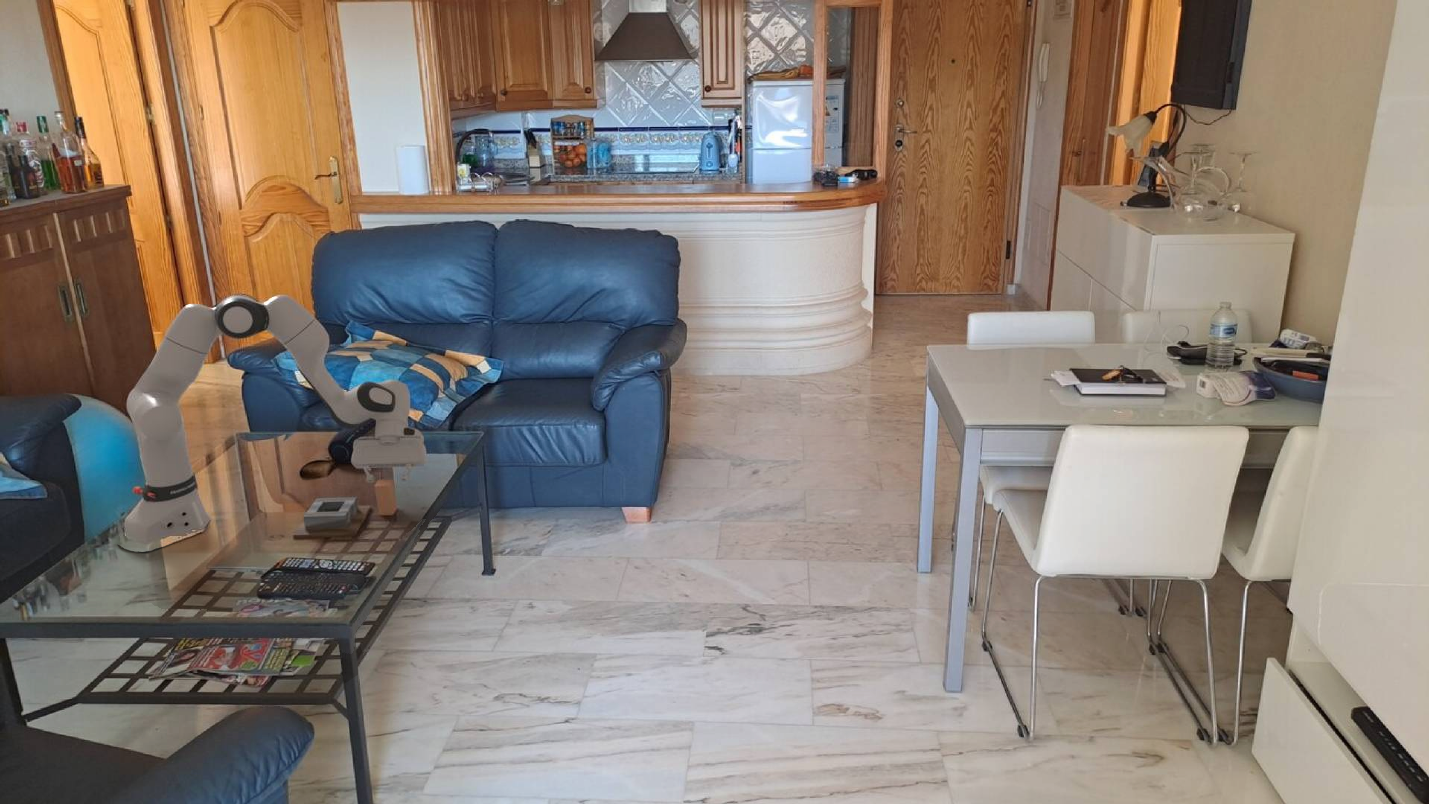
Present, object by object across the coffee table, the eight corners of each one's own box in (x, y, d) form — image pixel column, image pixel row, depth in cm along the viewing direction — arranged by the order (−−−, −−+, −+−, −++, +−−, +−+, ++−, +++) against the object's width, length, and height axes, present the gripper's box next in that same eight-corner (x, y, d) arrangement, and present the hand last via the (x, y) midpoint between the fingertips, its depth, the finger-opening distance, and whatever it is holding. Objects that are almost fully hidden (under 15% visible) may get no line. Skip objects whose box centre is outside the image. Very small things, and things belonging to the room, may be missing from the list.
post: (393, 514, 270) (389, 485, 267) (378, 515, 270) (374, 486, 267) (397, 508, 274) (392, 479, 271) (382, 508, 274) (378, 479, 270)
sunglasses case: (327, 477, 294) (313, 460, 292) (309, 488, 295) (295, 471, 293) (348, 453, 310) (334, 437, 308) (330, 464, 312) (317, 447, 310)
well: (354, 536, 259) (351, 519, 257) (293, 538, 258) (290, 521, 256) (371, 508, 274) (368, 492, 272) (313, 510, 273) (310, 494, 271)
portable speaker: (356, 468, 300) (351, 438, 296) (326, 466, 302) (321, 436, 298) (395, 437, 323) (391, 409, 319) (368, 435, 325) (363, 407, 321)
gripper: (350, 432, 274) (345, 478, 268) (424, 429, 275) (420, 475, 269) (357, 440, 280) (352, 486, 274) (429, 438, 281) (426, 483, 275)
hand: (387, 481), depth 272 cm, fingers open, 8 cm apart
